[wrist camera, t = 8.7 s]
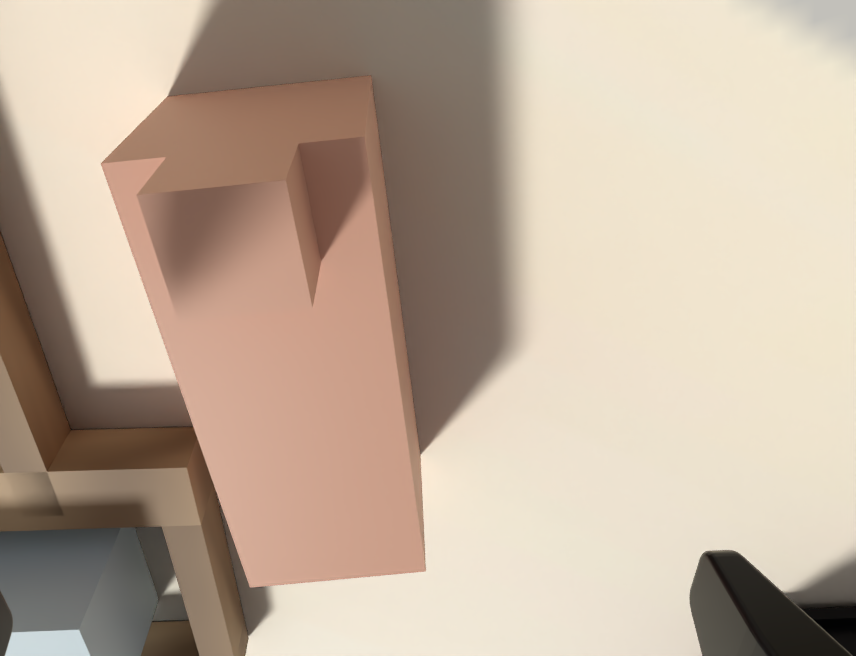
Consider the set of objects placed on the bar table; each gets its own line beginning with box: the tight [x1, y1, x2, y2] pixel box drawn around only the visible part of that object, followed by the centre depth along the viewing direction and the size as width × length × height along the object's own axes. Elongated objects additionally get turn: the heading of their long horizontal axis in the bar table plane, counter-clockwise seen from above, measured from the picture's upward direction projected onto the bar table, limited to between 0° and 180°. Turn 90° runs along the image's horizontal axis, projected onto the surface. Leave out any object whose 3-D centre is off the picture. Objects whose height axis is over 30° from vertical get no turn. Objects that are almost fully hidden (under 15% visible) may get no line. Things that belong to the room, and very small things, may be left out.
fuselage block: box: [101, 75, 426, 588], centre depth 14 cm, size 4×10×6 cm, turn 5°
